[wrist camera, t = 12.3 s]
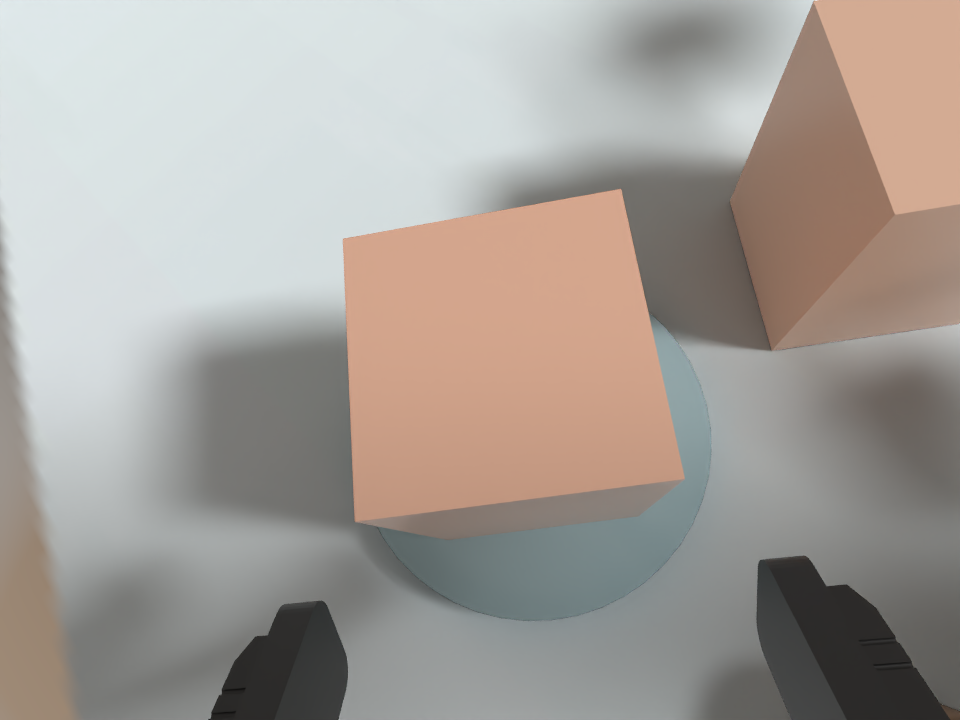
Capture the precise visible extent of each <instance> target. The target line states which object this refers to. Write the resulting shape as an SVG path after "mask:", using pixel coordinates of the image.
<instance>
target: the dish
mask: <svg viewBox="0 0 960 720" xmlns="http://www.w3.org/2000/svg"><path fill="white" fill-rule="evenodd" d="M648 313H649V312H648ZM649 318H650V322H651V327H652V331H653V336H654V340H655V345H656V349H657V354H658V359H659V363H660V368H661V372H662V377H663V381H664V386H665V390H666V395H667V399H668V404H669V408H670V413H671V418H672V422H673V427H674V431H675V436H676V440H677V445H678V449H679V454H680V458H681V463H682V468H683V472H684V477H685V480H683V481H682V482H681V483H680V484H678V485H677V486H676V487H675V488H673V489H672V490H671V491H670V492H668V493H667V494H666V495H665V496H663V497H662V498H661V499H659V500H658V501H657V502H656V503H654V504H653V505H652V506H651V507H649V508H648V509H647V510H646V511H644V512H643V513H642V514H641V515H639V516H637V517H629V518H621V519H613V520H605V521H597V522H589V523H581V524H573V525H565V526H557V527H549V528H541V529H533V530H525V531H517V532H509V533H501V534H493V535H485V536H477V537H469V538H461V539H453V540H445V539H439V538H434V537H429V536H424V535H419V534H414V533H409V532H403V531H398V530H393V529H388V528H383V527H378V526H377V527H378V529H379V531H380V533H381V535H382V536H383V538H384V540H385V541H386V543H387V544H388V545H389V547H390V548H391V549H392V551H393V552H394V554H395V555H396V556H397V558H398V559H399V560H400V561H401V562H402V563H403V564H404V565H405V566H406V567H407V568H408V569H409V570H410V571H411V572H412V573H413V574H414V575H415V576H416V577H417V578H419V579H420V580H421V581H422V582H424V583H425V584H426V585H427V586H429V587H430V588H431V589H432V590H434V591H436V592H437V593H439V594H441V595H442V596H444V597H446V598H448V599H449V600H451V601H453V602H454V603H457V604H459V605H462V606H464V607H467V608H469V609H471V610H474V611H476V612H480V613H483V614H487V615H491V616H495V617H499V618H505V619H514V620H523V621H539V620H555V619H561V618H567V617H572V616H578V615H581V614H584V613H587V612H590V611H593V610H596V609H599V608H602V607H604V606H606V605H608V604H610V603H612V602H614V601H616V600H618V599H620V598H622V597H624V596H626V595H627V594H629V593H630V592H631V591H633V590H634V589H636V588H637V587H639V586H640V585H642V584H643V583H645V582H646V581H647V580H648V579H649V578H650V577H651V576H652V575H653V574H654V573H656V572H657V571H658V570H659V569H660V568H661V567H662V566H663V565H664V564H665V563H666V562H667V560H668V559H669V558H670V557H671V555H672V554H673V553H674V552H675V551H676V549H677V548H678V547H679V546H680V544H681V542H682V541H683V539H684V537H685V536H686V534H687V532H688V531H689V529H690V527H691V526H692V524H693V522H694V519H695V517H696V515H697V512H698V510H699V507H700V505H701V503H702V500H703V496H704V492H705V488H706V485H707V481H708V477H709V468H710V459H711V428H710V422H709V416H708V410H707V405H706V402H705V398H704V395H703V392H702V389H701V385H700V382H699V380H698V378H697V376H696V374H695V372H694V370H693V367H692V365H691V363H690V361H689V360H688V358H687V357H686V355H685V353H684V352H683V350H682V349H681V347H680V346H679V344H678V343H677V341H676V340H675V339H674V338H673V337H672V335H671V334H670V333H669V332H668V331H667V329H666V328H665V327H664V326H663V325H662V324H661V323H660V322H659V321H658V320H657V319H656V318H655V317H653V316H652V315H651V314H650V313H649Z"/></svg>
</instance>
